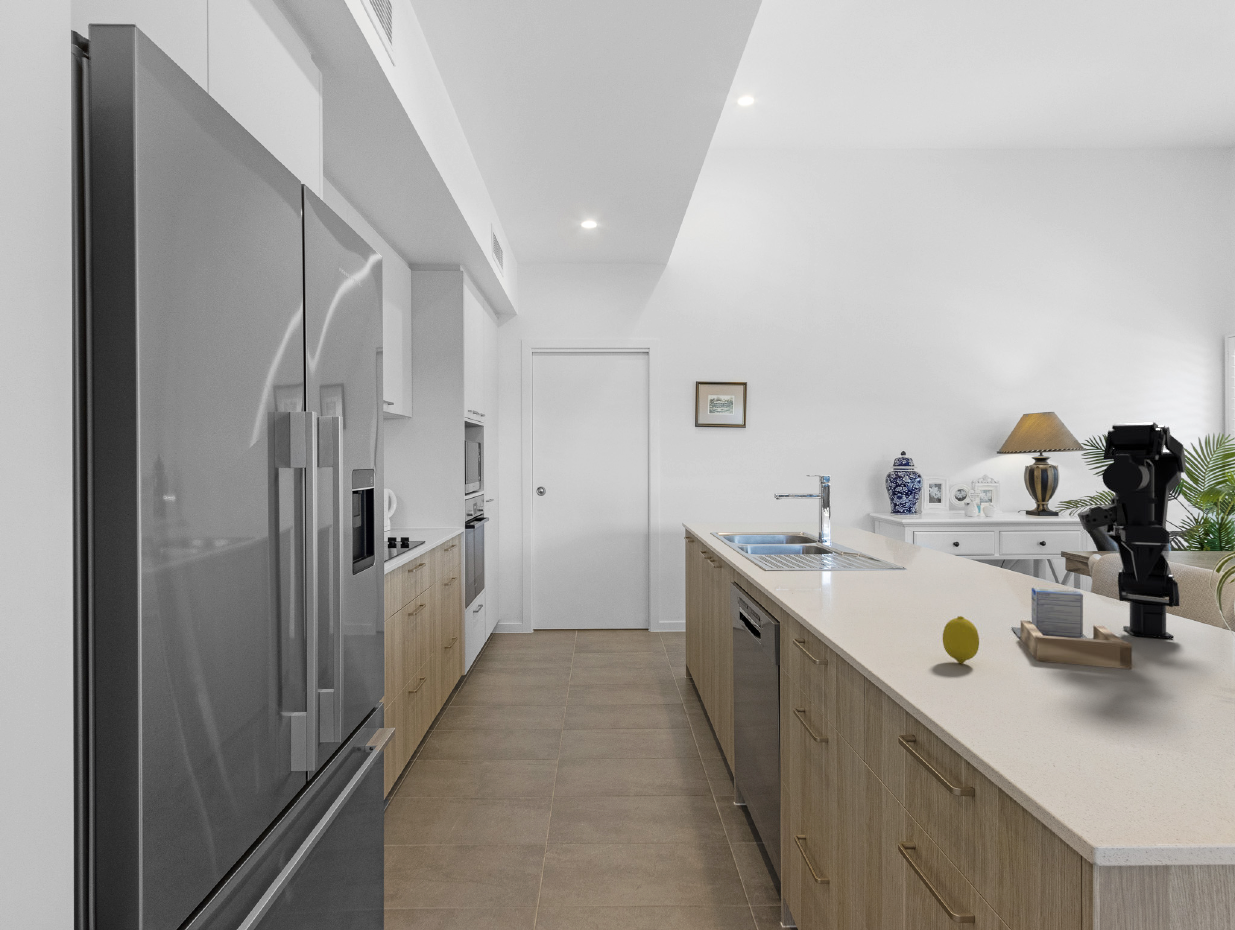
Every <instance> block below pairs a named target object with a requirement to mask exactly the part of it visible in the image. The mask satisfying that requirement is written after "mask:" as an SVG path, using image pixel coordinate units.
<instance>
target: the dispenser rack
mask: <svg viewBox="0 0 1235 930" xmlns="http://www.w3.org/2000/svg"><path fill="white" fill-rule="evenodd" d="M1092 626H1093V627H1092V628H1093V630H1092V632H1093V634H1092V635H1093V636H1092V638H1091V637H1087V638H1083V637H1070V636H1056V635H1043V634H1041V633H1040V631H1039V630H1038V629H1037V628H1036V627H1035V626H1034V625H1033V624H1032V620H1023V619H1021V620H1020V628H1021V638H1020V640H1021V639H1022V640H1021V641H1022V642H1023V644H1024V643H1025V644H1024V645H1025V647H1026V648H1027V649H1028V651H1029V652H1030V653H1031V654H1032V656H1033V657H1034V658H1035V660H1036V661H1038V662H1049V663H1061V664H1068V665H1069V664H1070V665H1071V664H1072V665H1083V666H1091V667H1092V666H1093V667H1104V668H1107V667H1108V668H1115V669H1116V668H1118V669H1129V670H1130V669H1131V670H1132V668H1133V667H1132V666H1133V665H1132V660H1133V659H1132V657H1133V656H1132V647H1133V646H1132V643H1130V642H1129V641H1124V640H1123V639H1121V638H1120V637H1119V636H1117V635H1116V634H1114V633H1113V632H1112V631H1111V630H1109V629H1108V628H1107V627H1106V626H1105V625H1095V624H1094V625H1092Z"/></svg>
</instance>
